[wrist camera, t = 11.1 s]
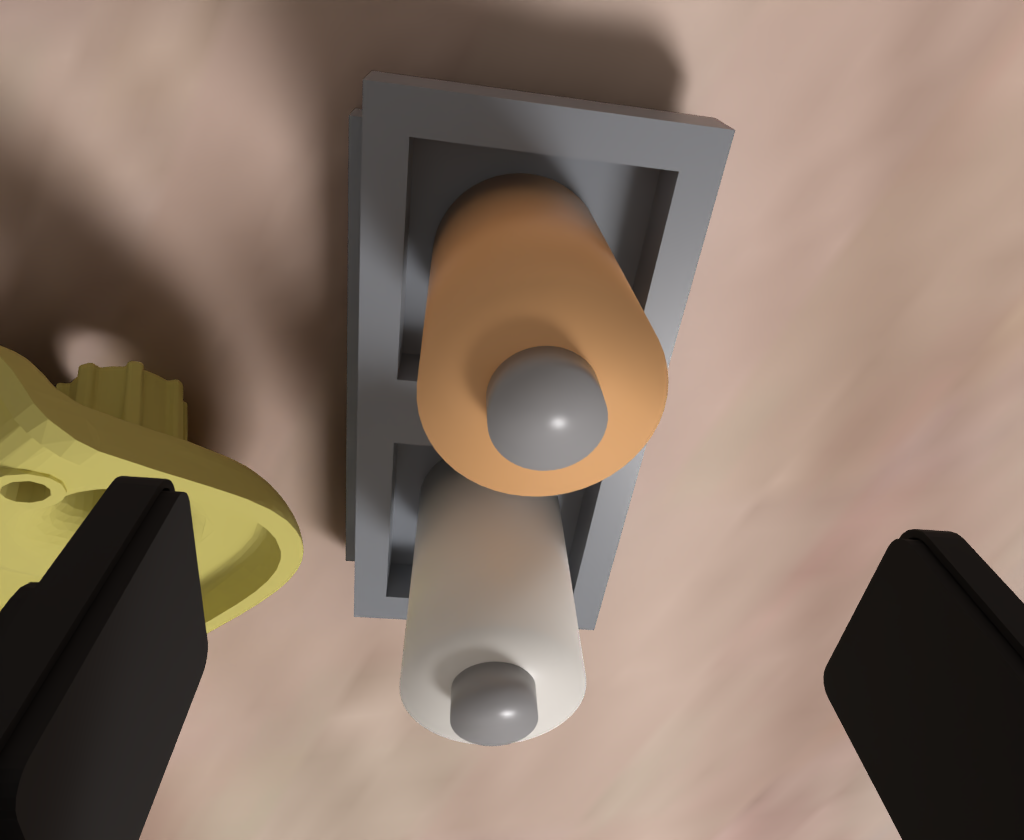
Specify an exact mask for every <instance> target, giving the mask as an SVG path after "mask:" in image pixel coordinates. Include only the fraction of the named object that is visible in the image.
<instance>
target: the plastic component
mask: <svg viewBox="0 0 1024 840" xmlns="http://www.w3.org/2000/svg"><path fill="white" fill-rule="evenodd" d="M119 476H133V477H148V478H163V479H169V480H171V481H172V483H173V485H174V488H175V491H180V492H186V493H187V494H188V496H189V500H190V507H191V515H192V523H193V530H194V538H195V546H196V554H197V562H198V570H199V578H200V585H201V593H202V601H203V609H204V617H205V625H206V632H207V633H209V632H211V631H212V630H214V629H216V628H218V627H219V626H221V625H223V624H225V623H227V622H228V621H230V620H232V619H234V618H235V617H237V616H239V615H241V614H242V613H244V612H246V611H247V610H249V609H250V608H252V607H254V606H255V605H257V604H259V603H260V602H262V601H263V600H264V599H266V598H267V597H269V596H270V595H272V594H273V593H274V592H276V591H277V590H278V589H279V588H281V587H282V586H283V585H284V584H285V583H286V582H287V581H288V580H289V579H290V578H291V577H292V576H293V574H294V573H295V572H296V571H297V569H298V567H299V565H300V563H301V561H302V556H303V542H302V537H301V533H300V530H299V526H298V524H297V522H296V519H295V518H294V516H293V514H292V512H291V510H290V509H289V507H288V506H287V504H286V503H285V501H284V500H283V499H282V497H281V496H280V495H279V494H278V493H277V492H276V490H275V489H274V488H273V487H272V486H271V485H270V484H269V483H268V482H267V481H265V480H264V479H263V478H262V477H260V476H259V475H258V474H257V473H255V472H254V471H252V470H251V469H249V468H248V467H246V466H244V465H242V464H241V463H239V462H237V461H235V460H233V459H231V458H229V457H226V456H224V455H221V454H219V453H216V452H214V451H211V450H209V449H206V448H204V447H201V446H199V445H196V444H194V443H191V442H188V429H187V403H186V402H183V384H182V383H181V382H180V381H179V380H170V381H168V380H165V379H163V378H162V377H160V376H158V375H156V374H153V373H151V372H148V371H146V370H144V365H143V364H142V363H141V362H136V361H130V362H128V363H127V365H126V366H124V367H103V368H101V367H98V366H96V365H95V364H93V363H87V364H83V365H81V366H79V370H78V377H76V378H75V379H74V380H73V381H72V382H71V383H67V384H65V383H58V384H57V385H56V387H54V386H53V385H52V384H51V383H50V382H49V380H48V379H47V378H46V376H45V375H44V374H43V373H42V372H41V371H40V370H39V369H37V368H36V367H35V366H34V365H33V364H32V363H31V362H30V361H29V360H28V359H26V358H25V357H23V356H21V355H20V354H18V353H16V352H15V351H12V350H10V349H7V348H5V347H3V346H0V611H1V609H2V608H3V607H4V606H5V604H6V603H7V602H8V600H9V599H10V598H11V597H12V596H13V595H14V593H15V592H16V591H17V590H18V589H19V588H20V587H22V586H24V585H26V584H28V583H29V582H39V581H40V580H41V579H42V577H43V576H44V575H45V573H46V572H47V570H48V569H49V568H50V566H51V565H52V564H53V562H54V561H55V559H56V558H57V557H58V555H59V554H60V553H61V551H62V550H63V548H64V547H65V546H66V544H67V543H68V542H69V540H70V539H71V537H72V536H73V535H74V533H75V532H76V531H77V529H78V528H79V526H80V525H81V524H82V522H83V521H84V520H85V518H86V517H87V515H88V514H89V513H90V511H91V510H92V509H93V507H94V506H95V505H96V503H97V502H98V500H99V499H100V498H101V496H102V495H103V494H104V492H105V491H106V489H107V488H108V487H109V485H110V484H111V483H112V481H113V480H114V479H115V478H116V477H119Z"/></svg>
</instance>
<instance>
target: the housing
mask: <svg viewBox="0 0 1024 840" xmlns="http://www.w3.org/2000/svg"><path fill="white" fill-rule="evenodd" d="M734 133H735V130H734V129H732V128H731V127H729V126H728V125H726V124H724V123H723V122H721V121H719V120H718V119H716V118H712V117H705V116H697V115H690V114H683V113H676V112H668V111H661V110H654V109H647V108H639V107H632V106H625V105H618V104H610V103H603V102H596V101H589V100H581V99H574V98H567V97H560V96H552V95H545V94H538V93H531V92H523V91H516V90H509V89H502V88H494V87H487V86H480V85H473V84H465V83H458V82H451V81H444V80H436V79H429V78H422V77H415V76H407V75H400V74H393V73H386V72H378V71H371V72H370V73H369V74H368V75H367V76H366V77H365V78H364V79H363V100H362V109H357V108H355V109H354V110H353V111H352V112H351V113H350V115H349V162H348V306H347V449H346V561H355V586H354V617H369V618H387V619H405V620H407V612H408V603H409V593H410V584H411V575H412V566H413V556H414V547H415V538H416V528H417V519H418V510H419V501H420V493H421V488H422V485H423V482H424V480H425V478H426V476H427V475H428V473H429V472H430V471H431V469H432V468H433V467H434V466H435V465H436V464H437V463H438V462H440V461H441V460H442V459H443V458H442V457H441V456H440V455H439V454H438V453H437V451H436V450H435V448H434V447H433V445H432V444H431V442H430V441H429V439H428V437H427V435H426V433H425V431H424V429H423V426H422V423H421V420H420V416H419V412H418V405H417V379H418V370H419V362H420V353H421V345H422V336H423V328H424V319H425V310H426V302H427V293H428V285H429V276H430V267H431V259H432V250H433V244H434V239H435V235H436V232H437V229H438V227H439V224H440V222H441V220H442V218H443V216H444V215H445V213H446V212H447V210H448V209H449V207H450V206H451V205H452V204H453V203H454V201H455V200H456V199H457V198H459V197H460V196H461V195H462V194H463V193H464V192H465V191H467V190H468V189H470V188H471V187H473V186H474V185H476V184H478V183H480V182H482V181H484V180H487V179H489V178H492V177H495V176H500V175H504V174H513V173H525V174H534V175H539V176H543V177H546V178H549V179H551V180H554V181H556V182H558V183H560V184H562V185H564V186H565V187H566V188H568V189H569V190H571V191H572V192H573V193H574V194H575V195H577V196H578V197H579V198H580V199H581V200H582V202H583V203H584V204H585V205H586V207H587V208H588V209H589V211H590V213H591V214H592V216H593V218H594V220H595V221H596V223H597V225H598V227H599V229H600V231H601V233H602V234H603V236H604V238H605V240H606V242H607V244H608V246H609V248H610V249H611V251H612V253H613V255H614V257H615V259H616V261H617V262H618V264H619V266H620V268H621V270H622V272H623V274H624V275H625V277H626V279H627V281H628V283H629V285H630V287H631V289H632V290H633V292H634V294H635V296H636V298H637V300H638V302H639V303H640V305H641V307H642V309H643V311H644V313H645V315H646V316H647V318H648V320H649V322H650V324H651V326H652V328H653V329H654V331H655V333H656V335H657V337H658V339H659V341H660V344H661V346H662V349H663V351H664V355H665V359H666V363H667V369H668V366H669V363H670V359H671V356H672V352H673V348H674V345H675V341H676V338H677V334H678V331H679V327H680V324H681V320H682V317H683V313H684V310H685V306H686V302H687V299H688V295H689V292H690V288H691V285H692V281H693V278H694V274H695V271H696V267H697V264H698V260H699V256H700V253H701V249H702V246H703V242H704V239H705V235H706V232H707V228H708V225H709V221H710V217H711V214H712V210H713V207H714V203H715V200H716V196H717V193H718V189H719V186H720V182H721V179H722V175H723V171H724V168H725V164H726V161H727V157H728V154H729V150H730V147H731V143H732V140H733V136H734ZM646 444H647V443H646ZM645 448H646V445H645V446H644V447H643V448H642V449H641V451H640V452H639V453H638V454H637V455H636V456H635V457H634V458H633V459H632V460H631V461H630V462H628V463H627V464H626V465H625V466H624V467H623V468H621V469H620V470H618V471H617V472H615V473H614V474H612V475H611V476H609V477H607V478H605V479H603V480H602V481H600V482H598V483H596V484H593V485H591V486H588V487H586V488H583V489H580V490H577V491H573V492H570V493H565V494H559V495H558V500H559V506H560V513H561V519H562V526H563V532H564V539H565V545H566V551H567V558H568V564H569V571H570V577H571V584H572V590H573V597H574V603H575V610H576V616H577V622H578V629H585V630H594V628H595V625H596V621H597V618H598V614H599V610H600V607H601V603H602V600H603V596H604V593H605V589H606V586H607V582H608V579H609V575H610V572H611V568H612V564H613V561H614V557H615V554H616V550H617V547H618V543H619V540H620V536H621V533H622V529H623V525H624V522H625V518H626V515H627V511H628V508H629V504H630V501H631V497H632V494H633V490H634V487H635V483H636V479H637V476H638V472H639V469H640V465H641V462H642V458H643V455H644V451H645Z"/></svg>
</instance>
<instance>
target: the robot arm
mask: <svg viewBox="0 0 1024 840" xmlns="http://www.w3.org/2000/svg"><path fill="white" fill-rule="evenodd" d="M207 652H208V640H207V632H206V625H205V617H204V609H203V601H202V593H201V585H200V578H199V570H198V562H197V554H196V546H195V538H194V530H193V523H192V515H191V507H190V500H189V496H188V494H187V493H186V492H180V491H175V488H174V485H173V483H172V481H171V480H169V479H163V478H148V477H133V476H119V477H116V478H115V479H114V480H113V481H112V483H111V484H110V485H109V487H108V488H107V489H106V491H105V492H104V494H103V495H102V496H101V498H100V499H99V500H98V502H97V503H96V505H95V506H94V507H93V509H92V510H91V511H90V513H89V514H88V515H87V517H86V518H85V520H84V521H83V522H82V524H81V525H80V526H79V528H78V529H77V531H76V532H75V533H74V535H73V536H72V537H71V539H70V540H69V542H68V543H67V544H66V546H65V547H64V548H63V550H62V551H61V553H60V554H59V555H58V557H57V558H56V559H55V561H54V562H53V564H52V565H51V566H50V568H49V569H48V570H47V572H46V573H45V575H44V576H43V577H42V579H41V580H40V581H39V582H29V583H28V584H26V585H24V586H22V587H20V588H19V589H18V590H17V591H16V592H15V593H14V595H13V596H12V597H11V598H10V599H9V600H8V602H7V603H6V604H5V606H4V607H3V608H2V609H1V611H0V840H139V837H140V835H141V832H142V830H143V827H144V824H145V822H146V819H147V817H148V814H149V811H150V809H151V806H152V804H153V801H154V799H155V796H156V793H157V791H158V788H159V786H160V783H161V780H162V778H163V775H164V773H165V770H166V767H167V765H168V762H169V760H170V757H171V755H172V752H173V749H174V747H175V744H176V742H177V739H178V736H179V734H180V731H181V729H182V726H183V723H184V721H185V718H186V716H187V713H188V711H189V708H190V705H191V703H192V700H193V698H194V695H195V692H196V690H197V687H198V685H199V682H200V679H201V677H202V674H203V671H204V668H205V664H206V659H207ZM824 687H825V691H826V694H827V696H828V698H829V700H830V702H831V704H832V706H833V708H834V710H835V712H836V714H837V716H838V718H839V719H840V721H841V723H842V725H843V727H844V729H845V731H846V733H847V735H848V737H849V739H850V740H851V742H852V744H853V746H854V748H855V750H856V752H857V754H858V756H859V758H860V760H861V761H862V763H863V765H864V767H865V769H866V771H867V773H868V775H869V777H870V779H871V781H872V783H873V784H874V786H875V788H876V790H877V792H878V794H879V796H880V798H881V800H882V802H883V804H884V805H885V807H886V809H887V811H888V813H889V815H890V817H891V819H892V821H893V823H894V825H895V826H896V828H897V830H898V832H899V834H900V836H901V838H902V840H1024V603H1023V602H1022V601H1021V600H1020V599H1019V598H1018V597H1017V596H1016V595H1015V594H1014V592H1013V591H1012V590H1011V589H1010V588H1009V587H1008V586H1007V585H1006V584H1005V583H1004V582H1003V581H1002V580H1001V578H1000V577H999V576H998V575H997V574H996V573H995V572H994V571H993V570H992V569H991V568H990V567H989V566H988V564H987V563H986V562H985V561H984V560H983V559H982V558H981V557H980V556H979V555H978V554H977V553H976V552H975V550H974V549H973V548H972V547H971V546H970V545H969V544H968V543H967V542H966V541H965V540H964V539H963V538H962V537H961V536H959V535H958V534H956V533H953V532H950V531H935V530H920V529H912V530H908V531H906V532H905V533H903V534H902V535H901V537H900V538H899V539H896V540H894V541H893V542H891V544H890V545H889V547H888V548H887V550H886V552H885V554H884V556H883V558H882V560H881V562H880V564H879V566H878V568H877V570H876V572H875V573H874V575H873V577H872V579H871V581H870V583H869V585H868V587H867V589H866V591H865V593H864V595H863V597H862V598H861V600H860V602H859V604H858V606H857V608H856V610H855V612H854V614H853V616H852V618H851V620H850V622H849V623H848V625H847V627H846V629H845V631H844V633H843V635H842V637H841V639H840V641H839V643H838V645H837V647H836V648H835V650H834V652H833V654H832V656H831V658H830V660H829V662H828V664H827V666H826V668H825V671H824Z"/></svg>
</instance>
